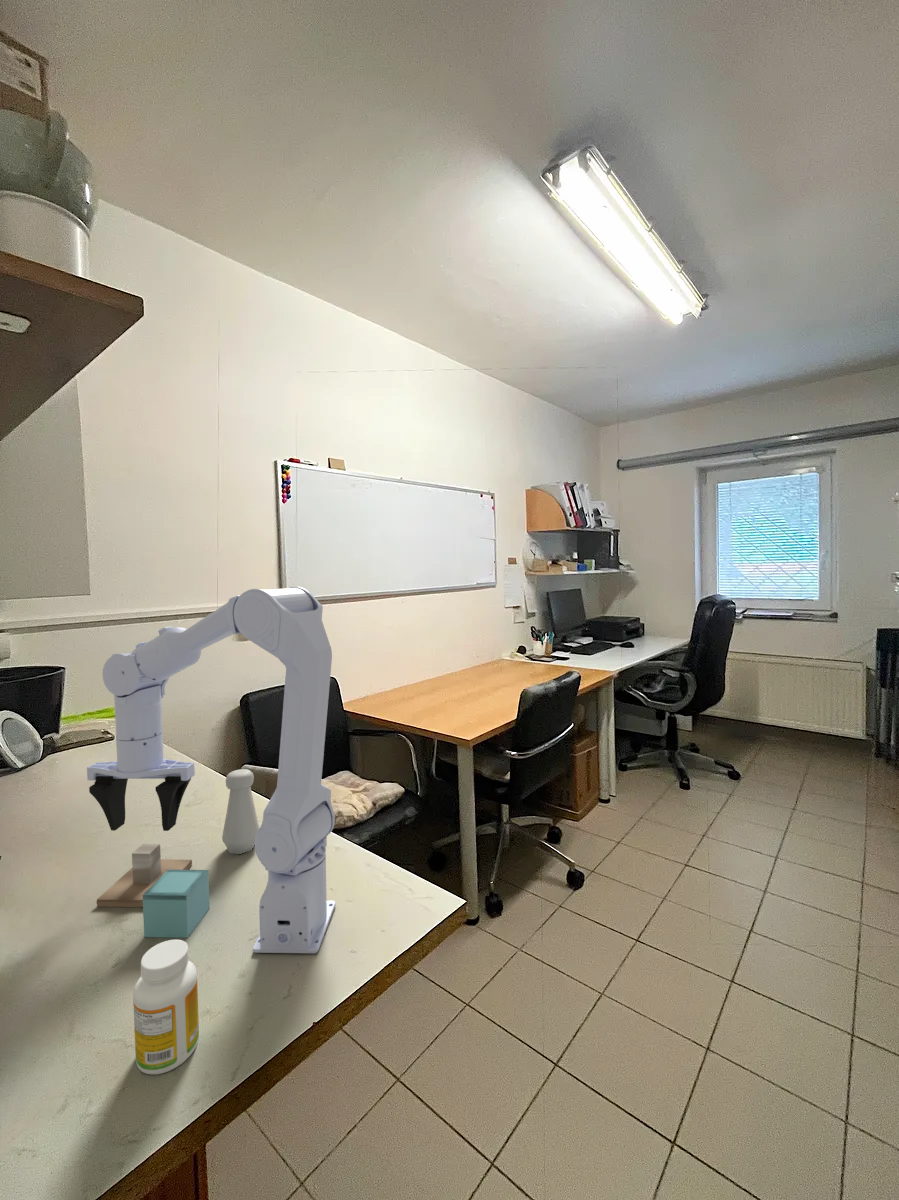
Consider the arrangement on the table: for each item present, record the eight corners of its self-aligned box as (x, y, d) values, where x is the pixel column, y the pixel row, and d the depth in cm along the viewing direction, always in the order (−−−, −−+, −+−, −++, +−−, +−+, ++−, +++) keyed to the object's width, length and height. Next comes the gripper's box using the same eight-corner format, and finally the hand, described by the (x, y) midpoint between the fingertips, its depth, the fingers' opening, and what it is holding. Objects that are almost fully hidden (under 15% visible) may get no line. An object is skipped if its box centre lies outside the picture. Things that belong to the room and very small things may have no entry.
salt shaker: (246, 859, 83) (244, 780, 82) (214, 855, 84) (212, 777, 83) (266, 841, 89) (264, 766, 88) (236, 837, 90) (234, 764, 89)
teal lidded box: (187, 937, 65) (186, 895, 65) (144, 937, 65) (142, 895, 65) (209, 908, 71) (208, 869, 71) (169, 908, 71) (167, 869, 71)
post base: (154, 907, 71) (152, 868, 71) (97, 906, 71) (95, 867, 71) (191, 865, 81) (190, 831, 81) (141, 865, 81) (140, 831, 81)
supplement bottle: (182, 1016, 54) (179, 926, 53) (209, 1044, 51) (207, 948, 50) (125, 1055, 49) (121, 957, 49) (151, 1089, 46) (147, 984, 46)
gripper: (203, 726, 78) (206, 814, 79) (109, 726, 78) (113, 814, 79) (178, 741, 71) (181, 838, 71) (74, 741, 71) (78, 837, 72)
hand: (143, 827), depth 75 cm, fingers open, 7 cm apart
